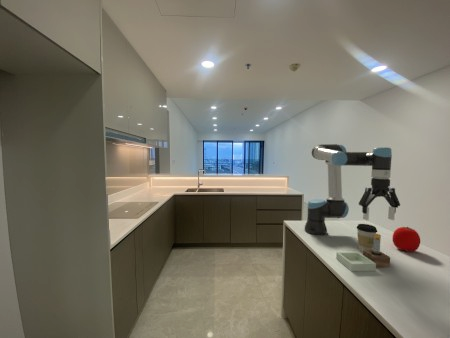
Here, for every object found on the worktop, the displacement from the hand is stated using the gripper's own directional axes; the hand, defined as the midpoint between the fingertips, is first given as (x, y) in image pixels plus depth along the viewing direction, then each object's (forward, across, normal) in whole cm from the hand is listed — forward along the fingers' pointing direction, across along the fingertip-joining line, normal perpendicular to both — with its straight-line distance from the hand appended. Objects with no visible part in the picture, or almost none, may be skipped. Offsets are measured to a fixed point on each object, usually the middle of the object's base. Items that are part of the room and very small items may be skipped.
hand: (378, 219), depth 101 cm
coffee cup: (+23, +4, +13) cm, 27 cm away
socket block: (+23, 0, 0) cm, 23 cm away
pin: (+23, 0, 0) cm, 23 cm away
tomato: (+23, +30, +14) cm, 41 cm away
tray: (+23, -12, -1) cm, 26 cm away
